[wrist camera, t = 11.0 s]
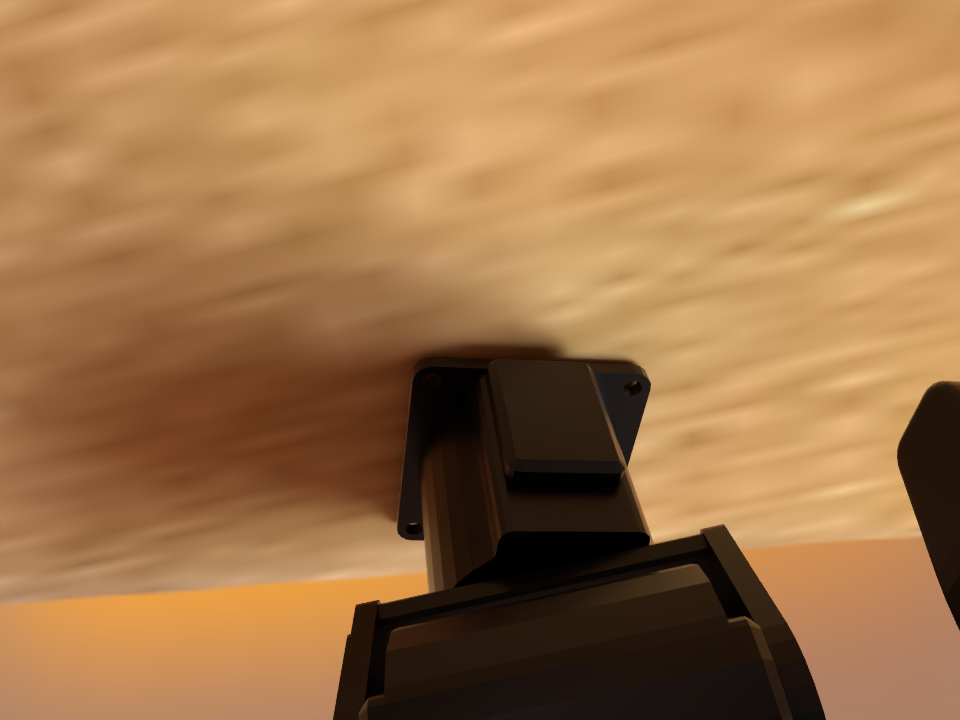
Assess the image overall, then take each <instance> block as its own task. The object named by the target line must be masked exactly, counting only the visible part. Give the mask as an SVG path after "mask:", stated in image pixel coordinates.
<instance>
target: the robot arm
mask: <svg viewBox="0 0 960 720" xmlns="http://www.w3.org/2000/svg"><path fill="white" fill-rule="evenodd" d="M430 374H435V375H438V376H439V377H438V378H436V379H435V380H426V379H424V377H425V376H427V375H430ZM632 381H637V383H636V384H635V385H633V386H630V387H625V385H626V384H627V383H629V382H632ZM650 388H651V383H650V381H649V378H648V376H647V374H646V372H645V370H644V369H643V368H641V367H640V366H636V365H620V364H594V363H585V362H572V361H545V360H518V359H497V360H486V359H460V358H433V357H432V358H425V359H423V360H421V361H419V362H418V363H417V364H416V365H415V366H414V368H413V370H412V376H411V385H410V395H409V405H408V414H407V424H406V434H405V443H404V453H403V462H402V472H401V482H400V491H399V501H398V510H397V530H398V534H399V535H400V536H401V537H402V538H405V539H407V540H424V542H425V554H426V566H427V578H428V590H429V593H428V594H423V595H419V596H414V597H409V598H405V599H401V600H396V601H391V602H387V603H382V604H381V603H380V601H379V600H376V601H372V602H367V603H362V604H358V605H356V607H355V613H354V618H353V625H352V630H351V634H349V635H348V636H347V641H346V647H345V653H344V659H343V664H342V670H341V676H340V682H339V687H338V693H337V699H336V705H335V711H334V717H333V720H826V718H825V715H824V711H823V708H822V705H821V702H820V699H819V696H818V693H817V690H816V687H815V684H814V681H813V679H812V676H811V673H810V671H809V668H808V666H807V663H806V660H805V658H804V656H803V654H802V652H801V649H800V647H799V645H798V643H797V641H796V639H795V637H794V635H793V633H792V631H791V630H790V628H789V626H788V624H787V623H786V621H785V619H784V618H783V617H782V615H781V613H780V612H779V610H778V609H777V607H776V605H775V604H774V602H773V601H772V599H771V597H770V596H769V594H768V593H767V591H766V590H765V588H764V586H763V585H762V583H761V582H760V581H759V579H758V577H757V576H756V574H755V572H754V571H753V569H752V568H751V566H750V564H749V563H748V561H747V560H746V558H745V557H744V555H743V553H742V552H741V550H740V549H739V547H738V546H737V544H736V542H735V541H734V539H733V538H732V536H731V535H730V533H729V531H728V530H727V528H726V527H725V525H724V524H723V525H718V526H713V527H709V528H704V529H701V530H700V534H697V535H692V536H688V537H683V538H679V539H674V540H669V541H665V542H660V543H656V544H654V543H653V540H652V537H651V534H650V531H649V528H648V526H647V523H646V520H645V517H644V514H643V511H642V508H641V505H640V503H639V500H638V497H637V494H636V491H635V488H634V485H633V482H632V480H631V477H630V474H629V471H628V468H627V467H628V463H629V460H630V456H631V453H632V450H633V446H634V443H635V440H636V436H637V433H638V429H639V426H640V423H641V419H642V416H643V413H644V409H645V406H646V402H647V399H648V396H649V392H650ZM897 460H898V466H899V470H900V473H901V476H902V478H903V481H904V484H905V487H906V490H907V493H908V496H909V498H910V501H911V504H912V507H913V510H914V513H915V516H916V518H917V521H918V524H919V527H920V530H921V533H922V536H923V538H924V541H925V544H926V547H927V550H928V553H929V556H930V558H931V561H932V564H933V567H934V570H935V573H936V576H937V578H938V581H939V584H940V586H941V589H942V591H943V594H944V597H945V599H946V601H947V604H948V606H949V608H950V610H951V613H952V615H953V617H954V620H955V621H956V624H957V626H958V628H959V630H960V382H955V381H940V382H937V383H934V384H933V385H931V386H930V387H929V388H928V389H927V390H926V392H925V393H924V395H923V397H922V399H921V401H920V403H919V405H918V407H917V409H916V410H915V412H914V414H913V416H912V418H911V420H910V422H909V424H908V426H907V428H906V430H905V432H904V434H903V436H902V437H901V440H900V442H899V445H898V450H897ZM410 523H418V524H415V525H411V524H410Z"/></svg>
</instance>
